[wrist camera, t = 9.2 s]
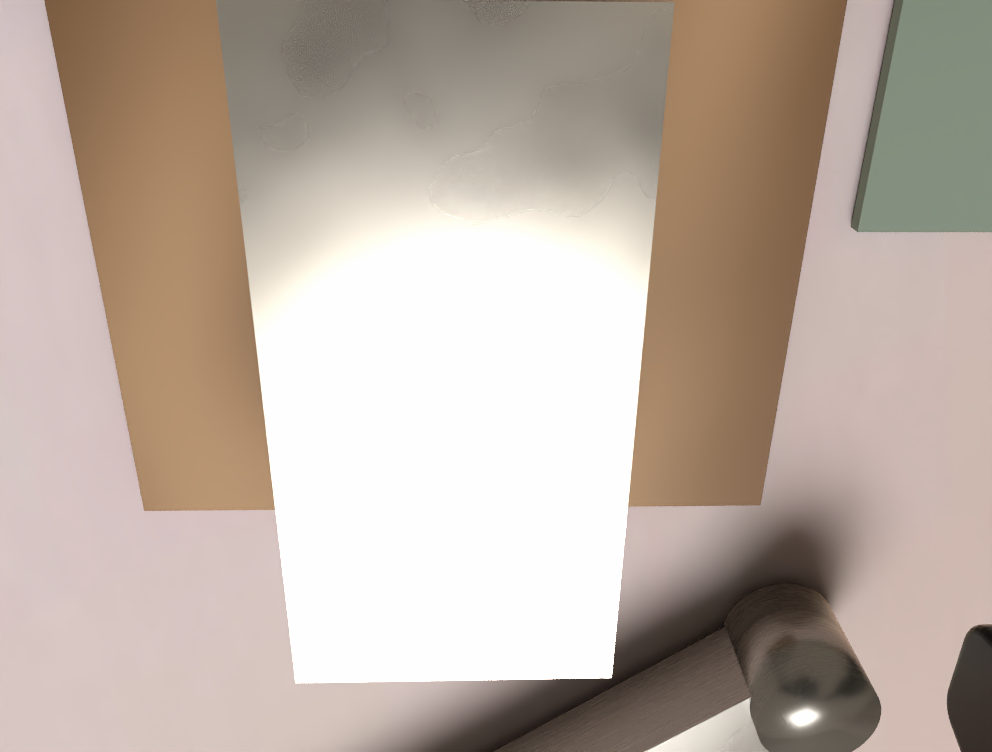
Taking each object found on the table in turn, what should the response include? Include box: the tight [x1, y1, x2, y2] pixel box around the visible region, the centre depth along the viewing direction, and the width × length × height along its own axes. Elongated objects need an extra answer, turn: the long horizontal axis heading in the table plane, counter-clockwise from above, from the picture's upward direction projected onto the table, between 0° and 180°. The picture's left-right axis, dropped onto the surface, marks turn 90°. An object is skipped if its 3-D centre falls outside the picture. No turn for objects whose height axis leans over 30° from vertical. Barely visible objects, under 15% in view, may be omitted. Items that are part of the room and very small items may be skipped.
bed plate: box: [45, 0, 847, 511], centre depth 16 cm, size 12×11×1 cm
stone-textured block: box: [216, 0, 675, 683], centre depth 14 cm, size 5×10×4 cm, turn 179°
